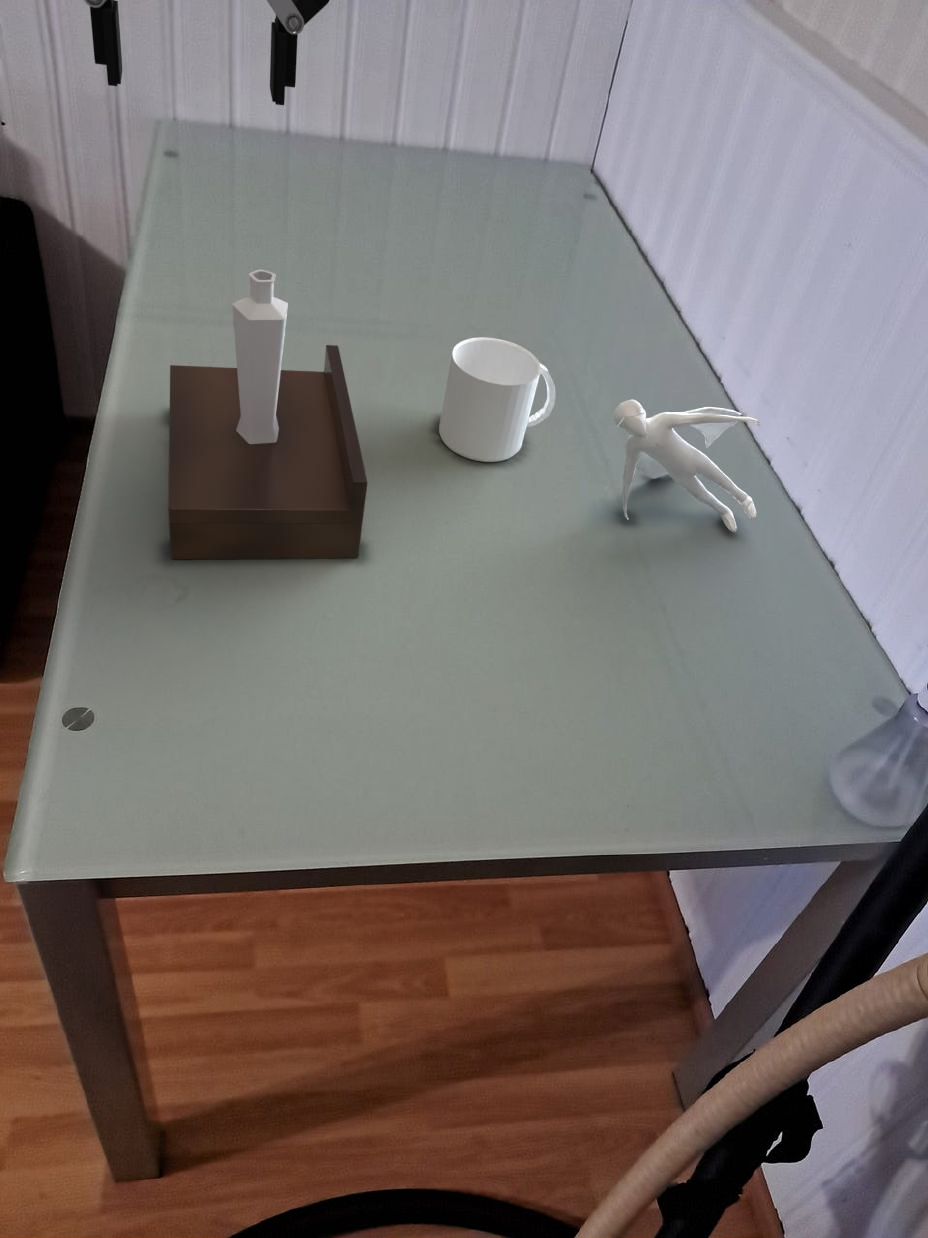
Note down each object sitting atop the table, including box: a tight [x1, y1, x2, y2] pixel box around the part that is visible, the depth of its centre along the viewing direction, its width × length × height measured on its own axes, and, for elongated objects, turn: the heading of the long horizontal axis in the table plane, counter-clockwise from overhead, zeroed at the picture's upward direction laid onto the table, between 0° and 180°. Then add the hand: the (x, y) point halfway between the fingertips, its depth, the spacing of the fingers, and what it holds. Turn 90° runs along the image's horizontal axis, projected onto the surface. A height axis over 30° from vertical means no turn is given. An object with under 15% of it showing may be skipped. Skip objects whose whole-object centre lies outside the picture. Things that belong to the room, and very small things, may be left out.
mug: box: [438, 336, 556, 463], centre depth 100 cm, size 12×9×9 cm
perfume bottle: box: [231, 268, 289, 444], centre depth 82 cm, size 5×4×15 cm
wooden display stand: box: [167, 344, 368, 560], centre depth 88 cm, size 16×22×8 cm
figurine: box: [608, 399, 761, 533], centre depth 94 cm, size 16×11×20 cm
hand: (197, 88), depth 59 cm, fingers open, 9 cm apart
